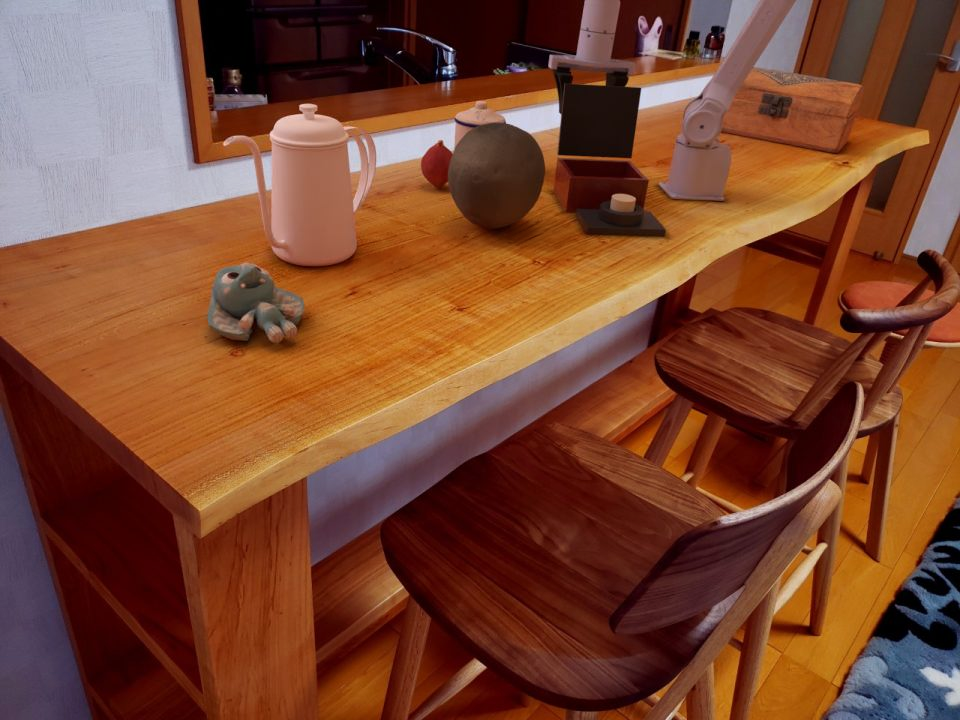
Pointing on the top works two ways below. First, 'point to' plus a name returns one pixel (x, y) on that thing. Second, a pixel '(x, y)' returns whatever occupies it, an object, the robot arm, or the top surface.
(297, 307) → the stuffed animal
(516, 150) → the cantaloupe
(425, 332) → the top surface
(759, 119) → the wooden box
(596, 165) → the reddish-brown open box
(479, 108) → the teacup with lid
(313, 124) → the coffeepot
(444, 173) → the onion
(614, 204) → the button
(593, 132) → the box lid
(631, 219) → the switch block
